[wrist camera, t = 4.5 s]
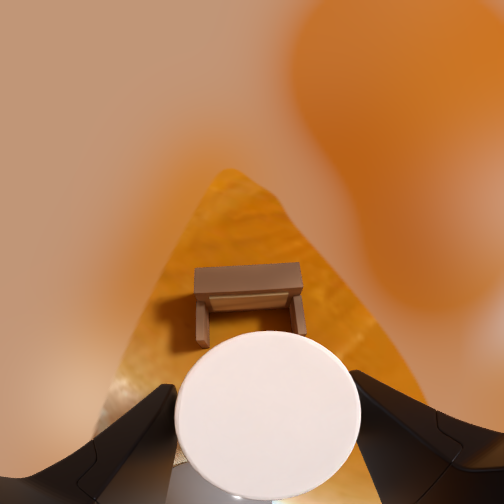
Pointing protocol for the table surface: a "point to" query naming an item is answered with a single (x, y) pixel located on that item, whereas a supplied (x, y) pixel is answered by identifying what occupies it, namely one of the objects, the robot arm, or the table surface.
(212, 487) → the slate coaster
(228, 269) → the bracket
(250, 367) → the supplement bottle
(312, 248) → the table surface
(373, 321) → the table surface
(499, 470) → the robot arm
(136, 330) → the table surface
